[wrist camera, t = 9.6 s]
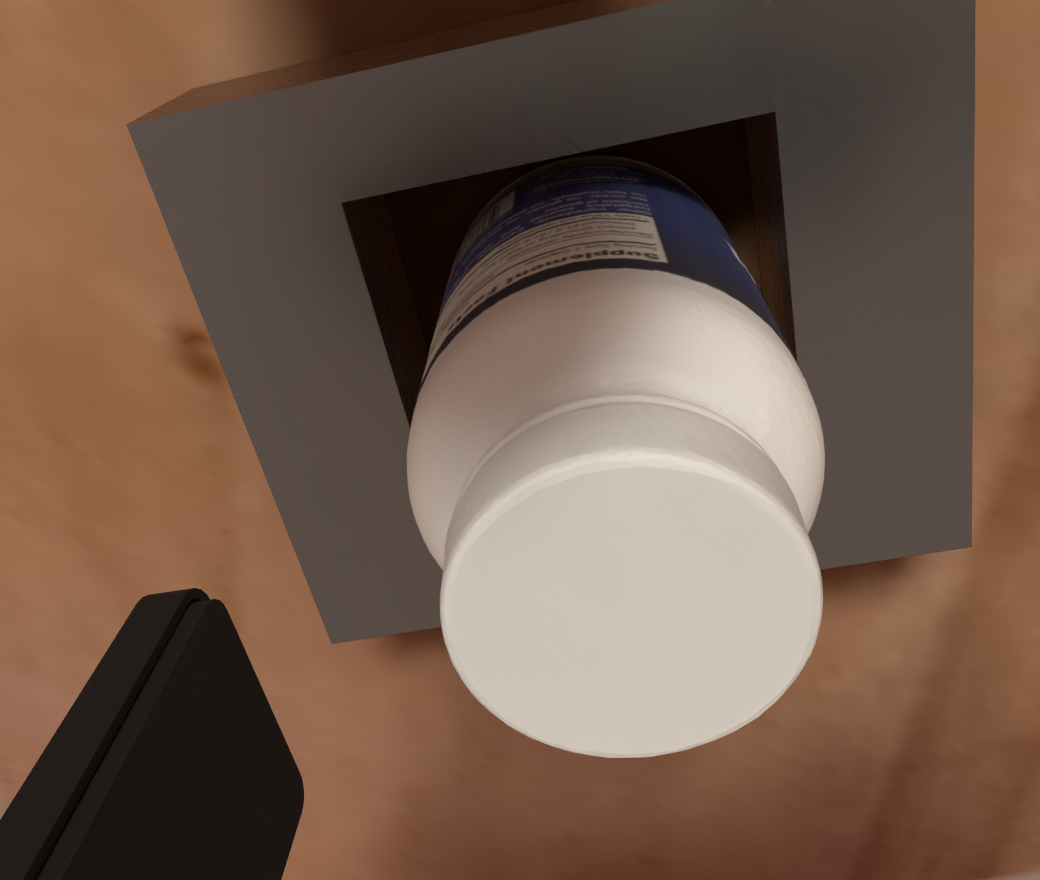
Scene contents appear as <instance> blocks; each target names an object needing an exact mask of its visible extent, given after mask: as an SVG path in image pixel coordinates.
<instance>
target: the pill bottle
mask: <svg viewBox="0 0 1040 880" xmlns="http://www.w3.org/2000/svg"><path fill="white" fill-rule="evenodd" d="M824 469H825V450H824V438H823V432H822V427H821V422H820V418H819V415H818V411H817V408H816V405H815V403H814V400H813V397H812V395H811V393H810V390H809V388H808V385H807V382H806V380H805V378H804V376H803V375H802V372H801V370H800V367H799V365H798V363H797V361H796V359H795V357H794V355H793V353H792V351H791V349H790V348H789V346H788V344H787V342H786V340H785V339H784V337H783V335H782V333H781V331H780V329H779V327H778V325H777V323H776V322H775V320H774V318H773V316H772V314H771V312H770V310H769V309H768V307H767V305H766V303H765V301H764V299H763V297H762V295H761V293H760V292H759V290H758V288H757V286H756V284H755V282H754V280H753V278H752V276H751V275H750V273H749V271H748V270H747V268H746V266H745V265H744V263H743V261H742V259H741V257H740V255H739V254H738V252H737V250H736V248H735V246H734V244H733V242H732V240H731V239H730V237H729V235H728V233H727V232H726V230H725V228H724V226H723V225H722V224H721V222H720V221H719V219H718V218H717V216H716V215H715V214H714V212H713V211H712V210H711V208H710V207H709V206H708V205H707V204H706V203H705V202H704V200H703V199H702V198H701V197H700V196H699V195H698V194H697V193H696V192H694V191H693V190H692V189H691V188H690V187H689V186H687V185H686V184H685V183H683V182H682V181H681V180H679V179H678V178H676V177H675V176H673V175H671V174H669V173H668V172H666V171H664V170H662V169H660V168H657V167H655V166H653V165H650V164H647V163H644V162H641V161H638V160H634V159H630V158H625V157H617V156H606V155H595V156H581V157H573V158H568V159H564V160H559V161H555V162H552V163H549V164H546V165H543V166H541V167H538V168H536V169H534V170H532V171H530V172H528V173H526V174H524V175H522V176H520V177H519V178H517V179H516V180H514V181H513V182H511V183H510V184H509V185H507V186H506V187H504V188H503V189H502V190H501V191H500V192H498V193H497V194H496V195H495V196H494V197H493V198H492V199H491V200H490V201H489V202H488V203H487V204H486V205H485V207H484V208H483V209H482V210H481V211H480V212H479V214H478V215H477V217H476V218H475V220H474V221H473V222H472V224H471V226H470V227H469V229H468V231H467V232H466V234H465V236H464V238H463V240H462V242H461V244H460V247H459V249H458V251H457V254H456V256H455V259H454V262H453V265H452V268H451V271H450V275H449V279H448V282H447V286H446V289H445V292H444V296H443V301H442V305H441V309H440V313H439V317H438V321H437V324H436V328H435V332H434V336H433V340H432V343H431V347H430V351H429V355H428V359H427V363H426V367H425V370H424V374H423V377H422V381H421V385H420V388H419V391H418V394H417V398H416V402H415V407H414V412H413V417H412V422H411V428H410V434H409V441H408V448H407V480H408V491H409V497H410V502H411V506H412V510H413V514H414V517H415V520H416V523H417V525H418V528H419V530H420V533H421V535H422V537H423V540H424V542H425V544H426V545H427V547H428V549H429V551H430V553H431V554H432V556H433V557H434V559H435V560H436V562H437V563H438V565H439V566H440V567H441V569H442V570H443V574H442V582H441V590H440V620H441V627H442V633H443V637H444V642H445V645H446V648H447V650H448V653H449V656H450V658H451V661H452V664H453V665H454V667H455V669H456V671H457V672H458V674H459V676H460V678H461V679H462V681H463V682H464V684H465V685H466V686H467V688H468V689H469V690H470V692H471V693H472V694H473V695H474V696H475V698H476V699H477V700H478V701H479V702H480V703H481V704H482V705H483V706H484V707H485V708H486V709H488V710H489V711H490V712H491V713H492V714H494V715H495V716H496V717H498V718H499V719H500V720H502V721H503V722H504V723H506V724H507V725H509V726H510V727H512V728H513V729H515V730H517V731H519V732H521V733H522V734H524V735H526V736H528V737H530V738H532V739H535V740H537V741H540V742H542V743H545V744H548V745H551V746H553V747H557V748H560V749H563V750H566V751H570V752H574V753H579V754H585V755H592V756H599V757H607V758H638V757H652V756H658V755H664V754H669V753H674V752H679V751H684V750H688V749H691V748H694V747H697V746H700V745H703V744H706V743H709V742H711V741H714V740H717V739H719V738H722V737H724V736H726V735H728V734H730V733H732V732H734V731H736V730H738V729H740V728H741V727H743V726H744V725H746V724H748V723H749V722H751V721H753V720H754V719H756V718H757V717H758V716H760V715H761V714H762V713H763V712H764V711H766V710H767V709H768V708H769V707H770V706H771V705H773V704H774V703H775V702H776V701H777V700H778V699H779V698H780V697H781V696H782V695H783V693H784V692H785V691H786V690H787V689H788V688H789V687H790V685H791V684H792V683H793V682H794V681H795V679H796V678H797V677H798V675H799V674H800V672H801V671H802V669H803V667H804V665H805V664H806V662H807V660H808V658H809V656H810V654H811V652H812V650H813V648H814V646H815V643H816V639H817V635H818V631H819V627H820V622H821V618H822V607H823V588H822V577H821V572H820V567H819V564H818V560H817V557H816V553H815V551H814V548H813V546H812V543H811V541H810V538H809V535H808V533H809V531H810V529H811V527H812V524H813V522H814V519H815V516H816V513H817V510H818V506H819V502H820V499H821V493H822V488H823V482H824Z"/></svg>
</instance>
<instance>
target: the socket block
mask: <svg viewBox="0 0 1040 880" xmlns="http://www.w3.org/2000/svg"><path fill="white" fill-rule="evenodd" d="M974 115H975V0H576V1H572V2H567V3H563V4H559V5H554V6H550V7H546V8H541V9H537V10H533V11H528V12H524V13H520V14H515V15H511V16H507V17H502V18H498V19H494V20H489V21H485V22H481V23H476V24H472V25H468V26H463V27H459V28H455V29H450V30H446V31H441V32H437V33H433V34H428V35H424V36H420V37H415V38H411V39H407V40H402V41H398V42H394V43H389V44H385V45H381V46H376V47H372V48H368V49H363V50H359V51H355V52H350V53H346V54H342V55H337V56H333V57H329V58H324V59H320V60H316V61H311V62H307V63H303V64H298V65H294V66H290V67H285V68H281V69H277V70H272V71H268V72H264V73H259V74H255V75H251V76H246V77H242V78H238V79H233V80H229V81H225V82H220V83H216V84H212V85H207V86H203V87H199V88H194V89H191V90H189V91H187V92H186V93H184V94H182V95H180V96H178V97H176V98H175V99H173V100H171V101H169V102H167V103H165V104H163V105H162V106H160V107H158V108H156V109H154V110H152V111H151V112H149V113H147V114H145V115H143V116H141V117H140V118H138V119H136V120H134V121H132V122H130V123H128V124H127V127H128V130H129V132H130V135H131V137H132V140H133V142H134V145H135V147H136V150H137V152H138V155H139V157H140V160H141V162H142V165H143V167H144V170H145V173H146V175H147V178H148V180H149V183H150V185H151V188H152V190H153V193H154V195H155V198H156V200H157V203H158V205H159V208H160V211H161V213H162V216H163V218H164V221H165V223H166V226H167V228H168V231H169V233H170V236H171V238H172V241H173V243H174V246H175V249H176V251H177V254H178V256H179V259H180V261H181V264H182V266H183V269H184V271H185V274H186V276H187V279H188V281H189V284H190V286H191V289H192V292H193V294H194V297H195V299H196V302H197V304H198V307H199V309H200V312H201V314H202V317H203V319H204V322H205V324H206V327H207V330H208V332H209V335H210V337H211V340H212V342H213V345H214V347H215V350H216V352H217V355H218V357H219V360H220V362H221V365H222V367H223V370H224V373H225V375H226V378H227V380H228V383H229V385H230V388H231V390H232V393H233V395H234V398H235V400H236V403H237V405H238V408H239V411H240V413H241V416H242V418H243V421H244V423H245V426H246V428H247V431H248V433H249V436H250V438H251V441H252V443H253V446H254V448H255V451H256V454H257V456H258V459H259V461H260V464H261V466H262V469H263V471H264V474H265V476H266V479H267V481H268V484H269V486H270V489H271V492H272V494H273V497H274V499H275V502H276V504H277V507H278V509H279V512H280V514H281V517H282V519H283V522H284V524H285V527H286V530H287V532H288V535H289V537H290V540H291V542H292V545H293V547H294V550H295V552H296V555H297V557H298V560H299V562H300V565H301V567H302V570H303V573H304V575H305V578H306V580H307V583H308V585H309V588H310V590H311V593H312V595H313V598H314V600H315V603H316V605H317V608H318V611H319V613H320V616H321V618H322V621H323V623H324V626H325V628H326V631H327V633H328V636H329V638H330V641H331V643H332V644H334V643H341V642H347V641H354V640H360V639H367V638H374V637H380V636H387V635H393V634H400V633H407V632H413V631H420V630H426V629H433V628H440V627H441V620H440V590H441V582H442V574H443V570H442V569H441V567H440V566H439V565H438V563H437V562H436V560H435V559H434V557H433V556H432V554H431V553H430V551H429V549H428V547H427V545H426V544H425V542H424V540H423V537H422V535H421V533H420V530H419V528H418V525H417V523H416V520H415V517H414V514H413V510H412V506H411V502H410V497H409V491H408V480H407V448H408V441H409V434H410V428H411V422H412V417H413V412H414V407H415V402H416V398H417V394H418V391H419V388H420V385H421V381H422V377H423V374H424V370H425V367H426V363H427V359H428V355H429V354H428V350H427V347H426V343H425V340H424V336H423V333H422V329H421V325H420V322H419V318H418V315H417V311H416V308H415V304H414V301H413V297H412V294H411V290H410V287H409V283H408V279H407V276H406V272H405V269H404V265H403V262H402V258H401V255H400V251H399V248H398V244H397V241H396V237H395V233H394V230H393V226H392V223H391V219H390V216H389V212H388V209H387V205H386V202H385V198H384V195H383V194H386V193H390V192H395V191H400V190H405V189H409V188H414V187H419V186H424V185H428V184H433V183H438V182H443V181H447V180H452V179H457V178H462V177H466V176H471V175H476V174H481V173H485V172H490V171H495V170H500V169H504V168H509V167H514V166H519V165H523V164H528V163H533V162H538V161H542V160H547V159H552V158H557V157H561V156H566V155H571V154H576V153H580V152H585V151H590V150H595V149H599V148H604V147H609V146H614V145H618V144H623V143H628V142H633V141H637V140H642V139H647V138H652V137H656V136H661V135H666V134H671V133H675V132H680V131H685V130H690V129H694V128H699V127H704V126H709V125H713V124H718V123H723V122H728V121H732V120H737V119H742V118H744V119H745V129H746V139H747V149H748V158H749V168H750V178H751V188H752V198H753V207H754V217H755V227H756V237H757V247H758V257H759V266H760V276H761V286H762V296H763V299H764V301H765V303H766V305H767V307H768V309H769V310H770V312H771V314H772V316H773V318H774V320H775V322H776V323H777V325H778V327H779V329H780V331H781V333H782V335H783V337H784V339H785V340H786V342H787V344H788V346H789V348H790V349H791V351H792V353H793V355H794V357H795V359H796V361H797V363H798V365H799V367H800V370H801V372H802V375H803V376H804V378H805V380H806V382H807V385H808V388H809V390H810V393H811V395H812V397H813V400H814V403H815V405H816V408H817V411H818V415H819V418H820V422H821V427H822V432H823V438H824V450H825V469H824V482H823V488H822V493H821V499H820V502H819V506H818V510H817V513H816V516H815V519H814V522H813V524H812V527H811V529H810V531H809V533H808V535H809V538H810V541H811V543H812V546H813V548H814V551H815V553H816V557H817V560H818V564H819V567H820V570H823V569H829V568H836V567H843V566H849V565H856V564H862V563H869V562H876V561H882V560H889V559H895V558H902V557H909V556H915V555H922V554H928V553H935V552H942V551H948V550H955V549H961V548H968V547H972V408H973V261H974Z"/></svg>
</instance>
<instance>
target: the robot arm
mask: <svg viewBox="0 0 1040 880" xmlns="http://www.w3.org/2000/svg"><path fill="white" fill-rule="evenodd" d="M303 803H304V787H303V781H302V778H301V775H300V772H299V770H298V768H297V765H296V763H295V761H294V759H293V756H292V754H291V752H290V750H289V747H288V745H287V743H286V741H285V738H284V736H283V734H282V732H281V729H280V727H279V725H278V723H277V721H276V718H275V716H274V714H273V712H272V709H271V707H270V705H269V703H268V700H267V698H266V696H265V694H264V691H263V689H262V687H261V685H260V682H259V680H258V678H257V676H256V674H255V671H254V669H253V667H252V665H251V662H250V660H249V658H248V656H247V653H246V651H245V649H244V647H243V644H242V642H241V640H240V638H239V635H238V633H237V631H236V629H235V627H234V624H233V622H232V620H231V618H230V615H229V613H228V611H227V609H226V607H225V606H224V604H223V603H222V602H221V601H220V600H216V599H212V600H210V599H209V597H208V595H207V594H206V593H205V592H203V591H202V590H201V589H197V588H193V589H186V590H179V591H172V592H165V593H158V594H151V595H147V596H145V597H142V598H141V599H140V601H139V602H138V603H137V604H136V606H135V607H134V609H133V610H132V612H131V614H130V615H129V617H128V618H127V620H126V621H125V623H124V625H123V626H122V628H121V629H120V631H119V633H118V634H117V636H116V637H115V639H114V640H113V642H112V644H111V645H110V647H109V648H108V650H107V652H106V653H105V655H104V656H103V658H102V660H101V661H100V663H99V664H98V666H97V667H96V669H95V671H94V672H93V674H92V675H91V677H90V679H89V680H88V682H87V683H86V685H85V687H84V688H83V690H82V691H81V693H80V694H79V696H78V698H77V699H76V701H75V702H74V704H73V706H72V707H71V709H70V710H69V712H68V713H67V715H66V717H65V718H64V720H63V721H62V723H61V725H60V726H59V728H58V729H57V731H56V733H55V734H54V736H53V737H52V739H51V740H50V742H49V744H48V745H47V747H46V748H45V750H44V752H43V753H42V755H41V756H40V758H39V759H38V761H37V763H36V764H35V766H34V767H33V769H32V771H31V772H30V774H29V775H28V777H27V779H26V780H25V782H24V783H23V785H22V786H21V788H20V790H19V791H18V793H17V794H16V796H15V798H14V799H13V801H12V802H11V804H10V806H9V807H8V809H7V810H6V812H5V813H4V815H3V817H2V818H1V820H0V880H281V879H282V875H283V872H284V869H285V866H286V862H287V859H288V856H289V853H290V849H291V846H292V843H293V840H294V836H295V833H296V830H297V826H298V823H299V820H300V817H301V813H302V809H303Z"/></svg>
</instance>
